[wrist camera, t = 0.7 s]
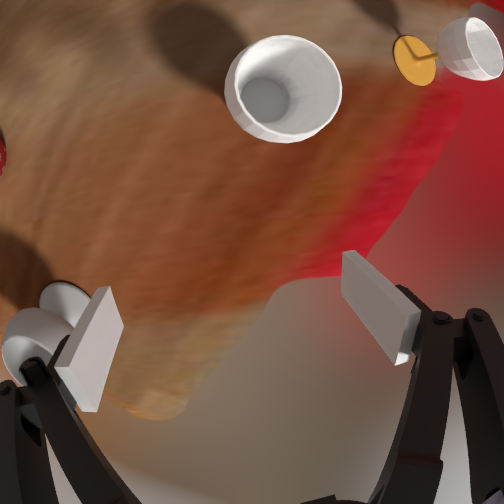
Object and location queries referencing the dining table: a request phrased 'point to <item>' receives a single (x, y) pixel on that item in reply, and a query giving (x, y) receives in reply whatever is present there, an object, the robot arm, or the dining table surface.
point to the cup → (283, 89)
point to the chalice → (42, 326)
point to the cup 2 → (452, 53)
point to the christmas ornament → (2, 156)
